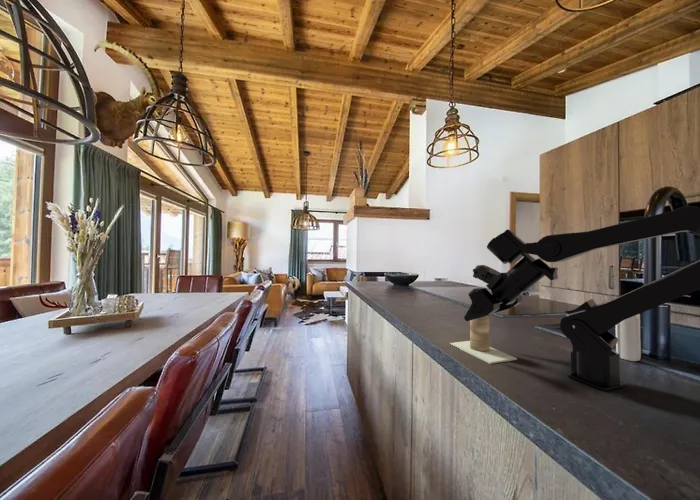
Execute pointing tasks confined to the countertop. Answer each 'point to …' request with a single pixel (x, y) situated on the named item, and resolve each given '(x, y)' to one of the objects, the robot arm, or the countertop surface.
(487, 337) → the pepper mill
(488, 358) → the sage mat
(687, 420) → the countertop surface
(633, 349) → the white rounded-top upright
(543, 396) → the countertop surface
